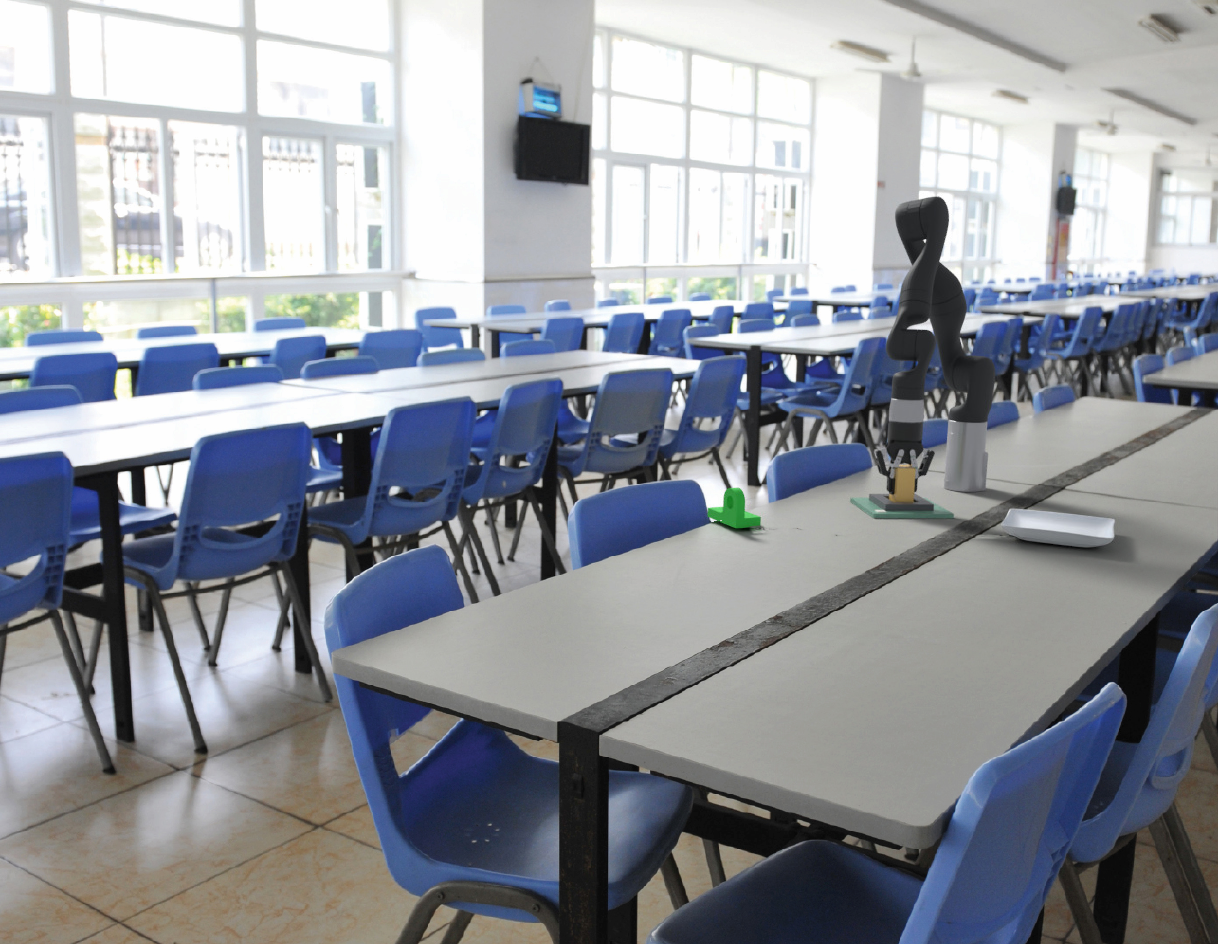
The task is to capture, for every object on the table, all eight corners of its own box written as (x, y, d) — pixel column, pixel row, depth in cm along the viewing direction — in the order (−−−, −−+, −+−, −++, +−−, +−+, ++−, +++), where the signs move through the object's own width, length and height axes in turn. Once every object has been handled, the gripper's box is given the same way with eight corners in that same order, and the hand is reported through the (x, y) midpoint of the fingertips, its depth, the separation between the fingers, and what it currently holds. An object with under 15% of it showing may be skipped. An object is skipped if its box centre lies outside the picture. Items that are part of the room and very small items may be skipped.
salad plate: (1114, 532, 238) (1115, 516, 237) (1113, 553, 219) (1114, 536, 218) (1008, 522, 247) (1009, 506, 246) (998, 541, 228) (1000, 525, 227)
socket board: (925, 502, 265) (925, 491, 265) (953, 518, 247) (954, 507, 247) (850, 501, 264) (850, 491, 263) (873, 518, 246) (874, 506, 246)
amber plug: (906, 499, 258) (908, 464, 256) (913, 503, 253) (915, 468, 251) (888, 499, 257) (891, 464, 256) (895, 503, 252) (898, 468, 251)
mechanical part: (760, 526, 237) (762, 488, 236) (735, 528, 234) (737, 490, 233) (731, 514, 248) (732, 479, 246) (707, 516, 245) (708, 480, 244)
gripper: (931, 417, 256) (926, 491, 259) (870, 416, 255) (865, 490, 258) (943, 421, 249) (937, 497, 252) (880, 420, 248) (875, 497, 251)
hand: (901, 493), depth 255 cm, fingers closed on amber plug, 4 cm apart
